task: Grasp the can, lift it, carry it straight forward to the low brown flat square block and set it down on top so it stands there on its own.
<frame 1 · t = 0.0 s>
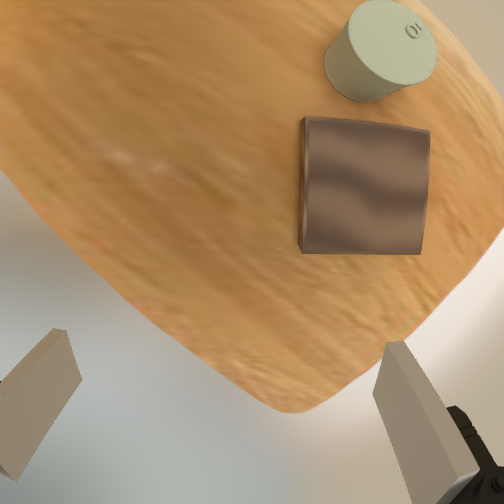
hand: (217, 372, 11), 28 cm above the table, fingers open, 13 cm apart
can: (359, 68, 32), on the table
brown flat square block: (360, 185, 36), on the table
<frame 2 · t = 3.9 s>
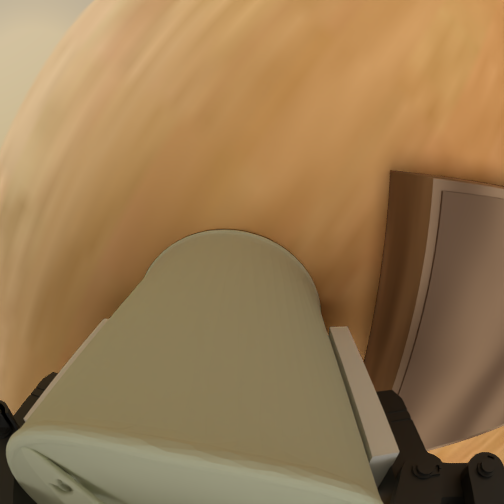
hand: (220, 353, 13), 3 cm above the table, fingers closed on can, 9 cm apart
can: (228, 317, 16), on the table, touching gripper
brown flat square block: (479, 310, 15), on the table
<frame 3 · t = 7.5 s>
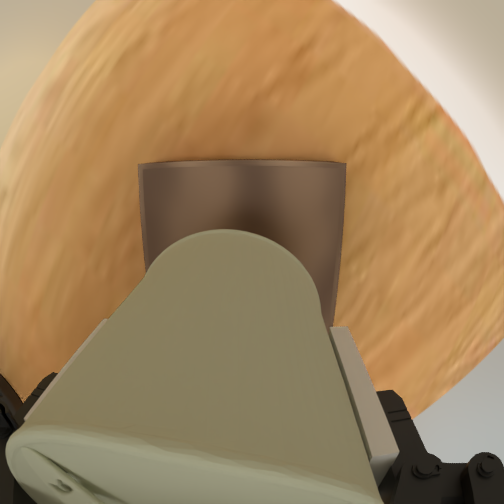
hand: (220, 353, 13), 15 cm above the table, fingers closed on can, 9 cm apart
can: (228, 317, 16), point 12 cm above the table, touching gripper
brown flat square block: (243, 247, 27), on the table
when the fingers open (8 cm above the table, at t = 11.2 s): can stays where it is, resting on brown flat square block.
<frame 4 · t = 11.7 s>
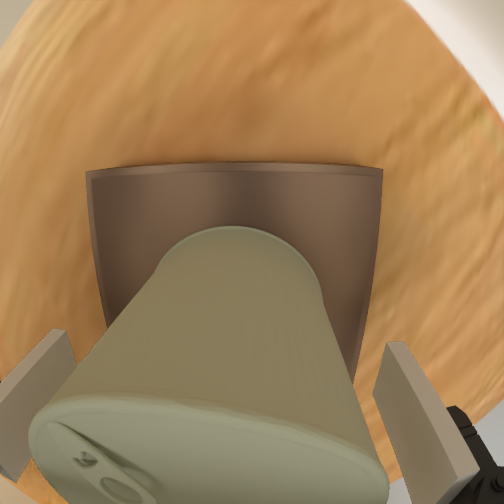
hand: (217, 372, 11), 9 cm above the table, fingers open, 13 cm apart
can: (234, 310, 17), point 4 cm above the table, touching brown flat square block
brown flat square block: (235, 281, 20), on the table
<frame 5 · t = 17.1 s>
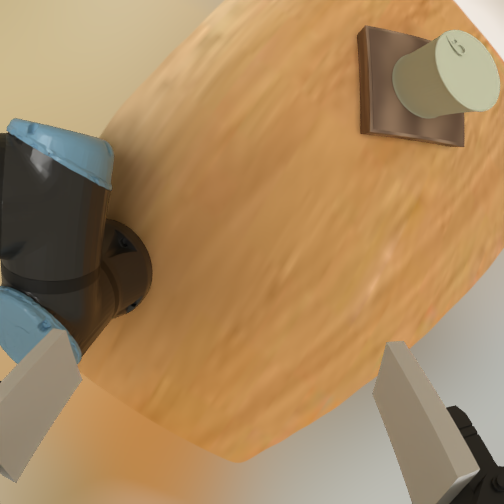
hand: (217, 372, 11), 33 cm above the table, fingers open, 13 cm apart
can: (421, 85, 33), point 4 cm above the table, touching brown flat square block
brown flat square block: (407, 89, 36), on the table
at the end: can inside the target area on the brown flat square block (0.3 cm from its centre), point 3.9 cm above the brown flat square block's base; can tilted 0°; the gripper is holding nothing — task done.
